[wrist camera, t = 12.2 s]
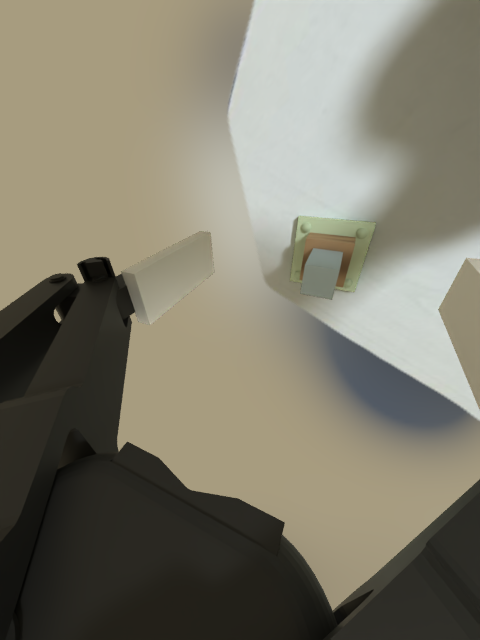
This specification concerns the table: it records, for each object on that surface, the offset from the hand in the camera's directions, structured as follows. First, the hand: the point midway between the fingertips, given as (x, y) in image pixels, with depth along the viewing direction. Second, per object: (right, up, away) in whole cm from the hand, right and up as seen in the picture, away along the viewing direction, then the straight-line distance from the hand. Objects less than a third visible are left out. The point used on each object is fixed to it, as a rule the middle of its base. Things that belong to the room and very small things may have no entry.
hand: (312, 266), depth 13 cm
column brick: (+11, +7, +29) cm, 32 cm away
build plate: (+13, +10, +33) cm, 37 cm away
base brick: (+13, +9, +32) cm, 36 cm away
